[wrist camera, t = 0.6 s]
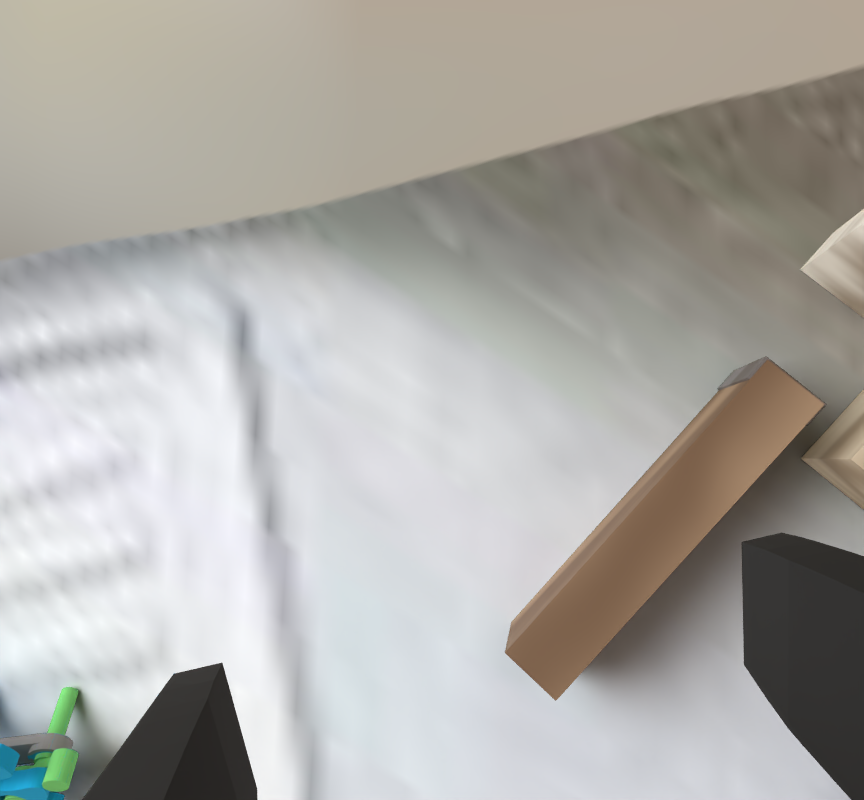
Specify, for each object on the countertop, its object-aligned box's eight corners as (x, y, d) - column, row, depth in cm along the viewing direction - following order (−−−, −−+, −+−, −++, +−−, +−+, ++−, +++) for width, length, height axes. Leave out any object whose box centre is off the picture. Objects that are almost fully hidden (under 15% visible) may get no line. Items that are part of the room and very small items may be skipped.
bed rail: (782, 412, 30) (829, 403, 25) (556, 662, 31) (558, 702, 26) (732, 371, 31) (768, 355, 26) (509, 619, 31) (502, 650, 26)
